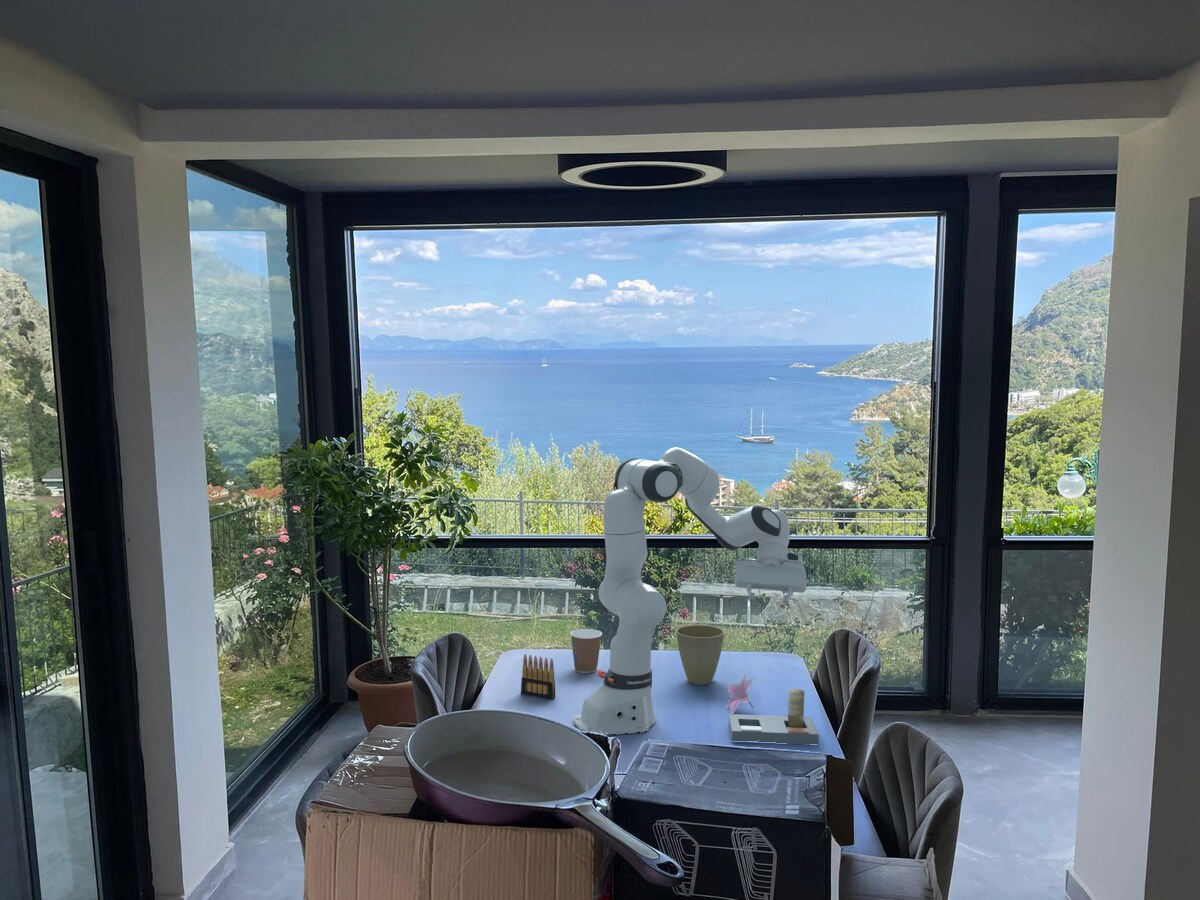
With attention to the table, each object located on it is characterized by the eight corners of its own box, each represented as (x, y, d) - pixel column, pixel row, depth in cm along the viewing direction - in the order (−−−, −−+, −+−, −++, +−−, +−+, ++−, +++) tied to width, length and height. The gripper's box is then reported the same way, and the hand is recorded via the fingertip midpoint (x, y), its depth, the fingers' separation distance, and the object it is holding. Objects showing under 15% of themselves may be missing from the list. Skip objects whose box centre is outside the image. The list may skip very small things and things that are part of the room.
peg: (793, 739, 231) (795, 694, 231) (784, 734, 235) (785, 689, 234) (806, 737, 233) (807, 692, 232) (796, 732, 237) (798, 687, 236)
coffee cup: (572, 663, 293) (573, 628, 292) (603, 665, 291) (604, 629, 291) (567, 673, 283) (567, 636, 282) (599, 675, 281) (599, 638, 280)
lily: (730, 703, 261) (716, 677, 258) (767, 692, 258) (754, 665, 255) (729, 730, 250) (715, 703, 247) (768, 718, 247) (754, 691, 244)
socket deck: (731, 742, 229) (732, 729, 229) (728, 724, 241) (728, 712, 241) (818, 745, 228) (818, 732, 227) (810, 728, 240) (811, 715, 239)
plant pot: (710, 671, 287) (711, 623, 286) (731, 686, 273) (732, 635, 271) (667, 675, 282) (668, 626, 281) (686, 691, 268) (687, 639, 267)
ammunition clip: (520, 694, 263) (520, 654, 263) (523, 692, 265) (524, 652, 264) (552, 699, 259) (552, 659, 258) (555, 697, 261) (555, 657, 260)
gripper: (735, 551, 258) (730, 591, 249) (807, 556, 253) (805, 598, 244) (736, 564, 262) (731, 604, 253) (807, 569, 257) (805, 610, 248)
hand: (768, 601), depth 249 cm, fingers open, 8 cm apart
